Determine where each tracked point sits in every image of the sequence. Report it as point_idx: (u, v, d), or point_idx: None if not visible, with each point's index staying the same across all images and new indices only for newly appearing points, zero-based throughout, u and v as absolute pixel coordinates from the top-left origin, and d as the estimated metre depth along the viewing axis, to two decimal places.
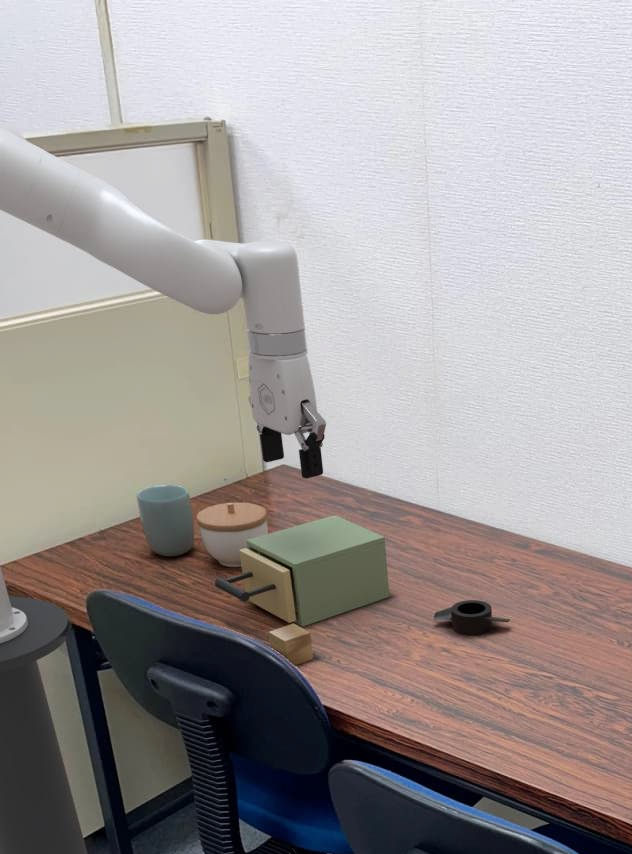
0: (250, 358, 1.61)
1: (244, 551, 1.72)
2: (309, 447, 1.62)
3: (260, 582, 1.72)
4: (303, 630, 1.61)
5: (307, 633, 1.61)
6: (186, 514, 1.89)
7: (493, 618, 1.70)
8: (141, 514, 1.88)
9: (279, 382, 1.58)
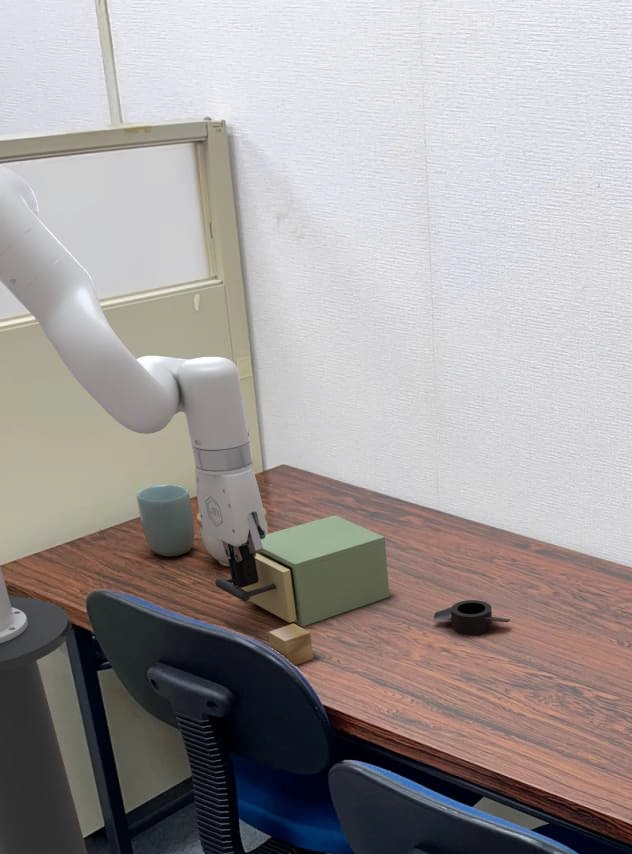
0: (196, 471, 1.61)
1: None
2: (242, 558, 1.65)
3: (260, 581, 1.72)
4: (303, 630, 1.61)
5: (307, 633, 1.61)
6: (186, 514, 1.89)
7: (493, 618, 1.70)
8: (141, 514, 1.88)
9: (225, 496, 1.57)
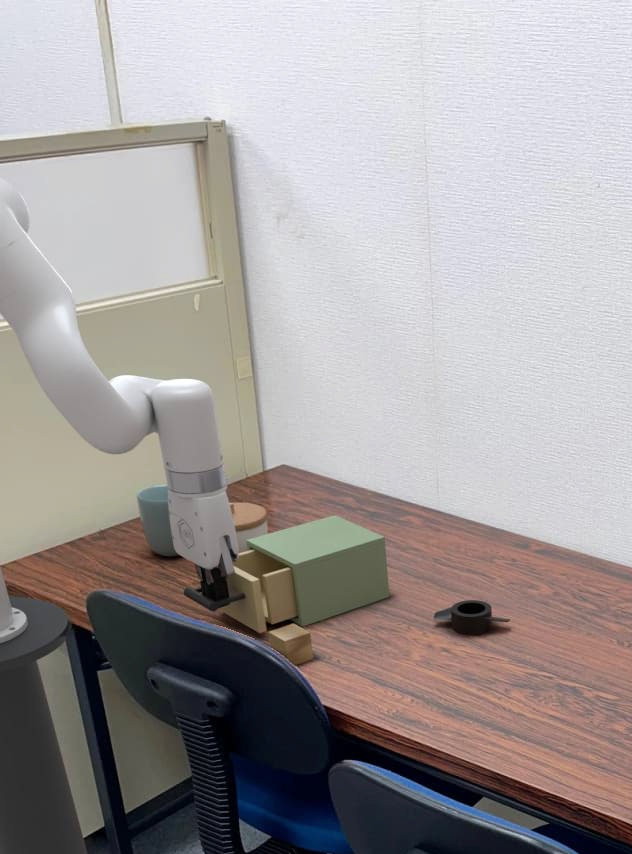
0: (169, 492, 1.59)
1: None
2: (214, 581, 1.63)
3: (230, 591, 1.69)
4: (303, 630, 1.61)
5: (307, 633, 1.61)
6: None
7: (493, 618, 1.70)
8: (141, 514, 1.88)
9: (197, 519, 1.56)
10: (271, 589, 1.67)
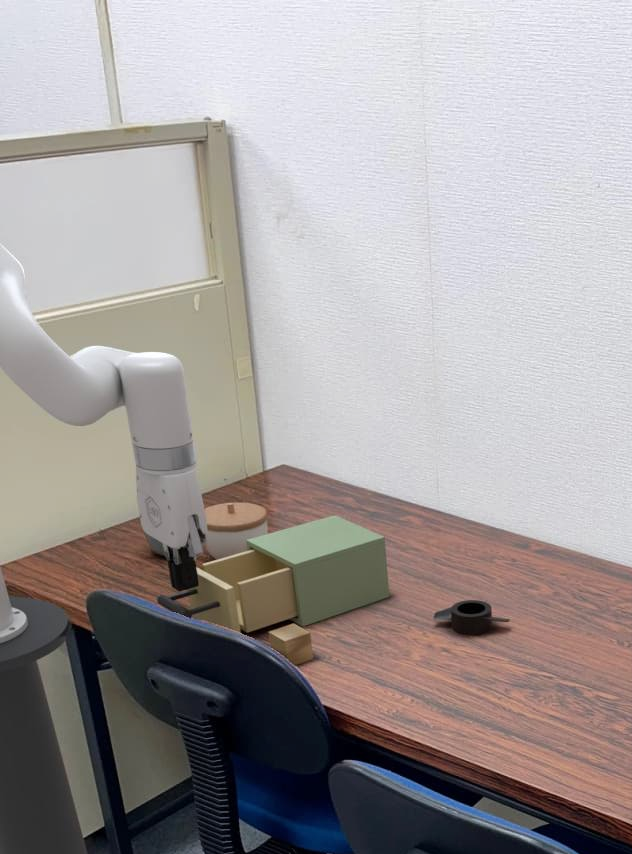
0: (137, 469, 1.55)
1: None
2: (182, 561, 1.59)
3: (205, 599, 1.66)
4: (303, 630, 1.61)
5: (307, 633, 1.61)
6: None
7: (493, 618, 1.70)
8: None
9: (165, 497, 1.52)
10: (246, 597, 1.64)
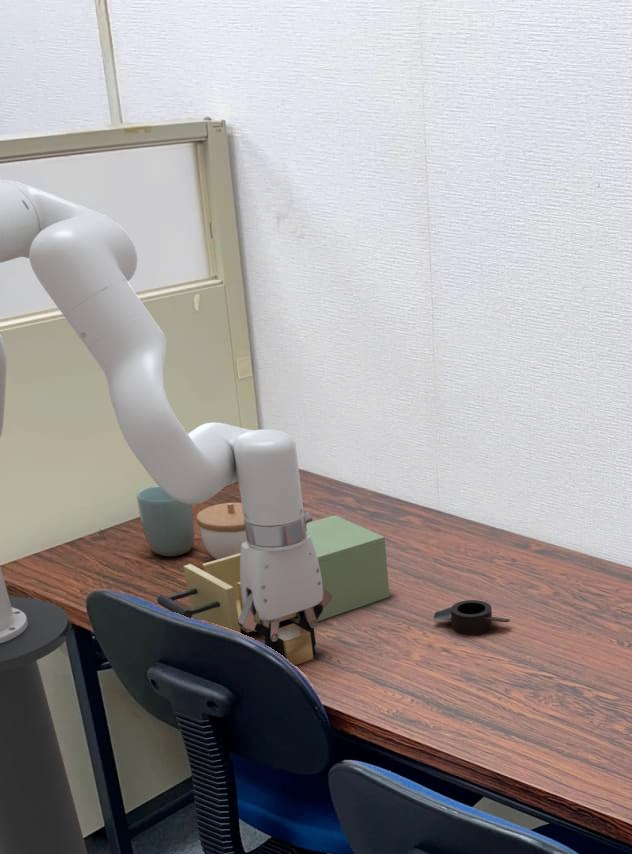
0: None
1: (188, 567, 1.67)
2: None
3: (205, 599, 1.66)
4: (303, 630, 1.61)
5: (307, 633, 1.61)
6: (186, 514, 1.89)
7: (493, 618, 1.70)
8: (141, 514, 1.88)
9: None
10: None
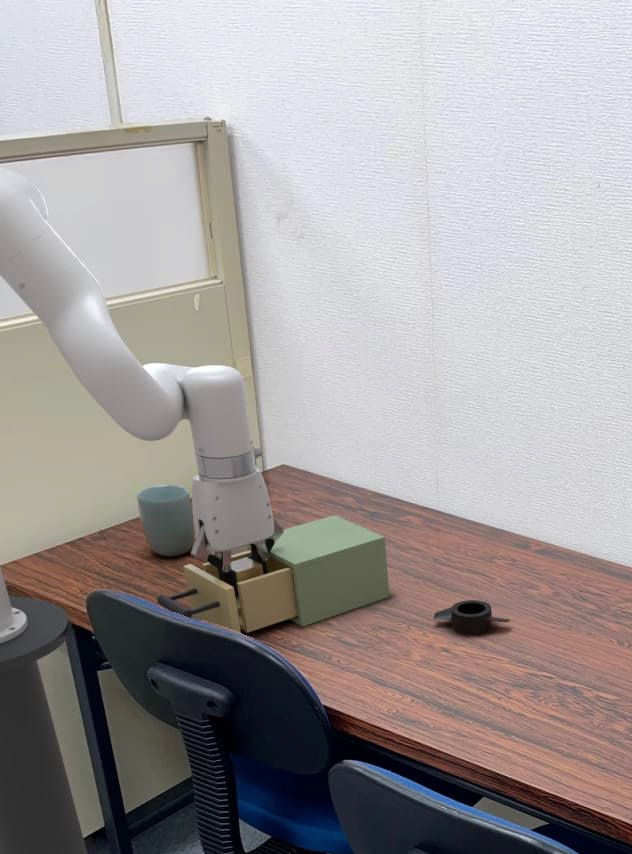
0: None
1: (188, 567, 1.67)
2: (214, 565, 1.65)
3: (205, 599, 1.66)
4: (255, 563, 1.68)
5: (259, 565, 1.67)
6: (186, 514, 1.89)
7: (493, 618, 1.70)
8: (141, 514, 1.88)
9: None
10: (246, 597, 1.64)
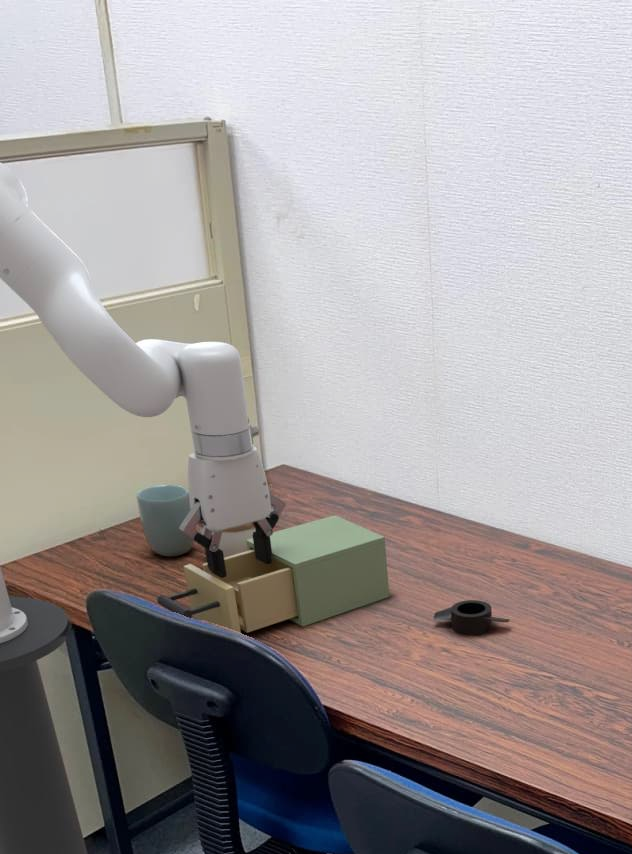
0: None
1: (188, 567, 1.67)
2: (202, 545, 1.63)
3: (205, 599, 1.66)
4: None
5: None
6: (186, 514, 1.89)
7: (493, 618, 1.70)
8: (141, 514, 1.88)
9: None
10: (246, 597, 1.64)
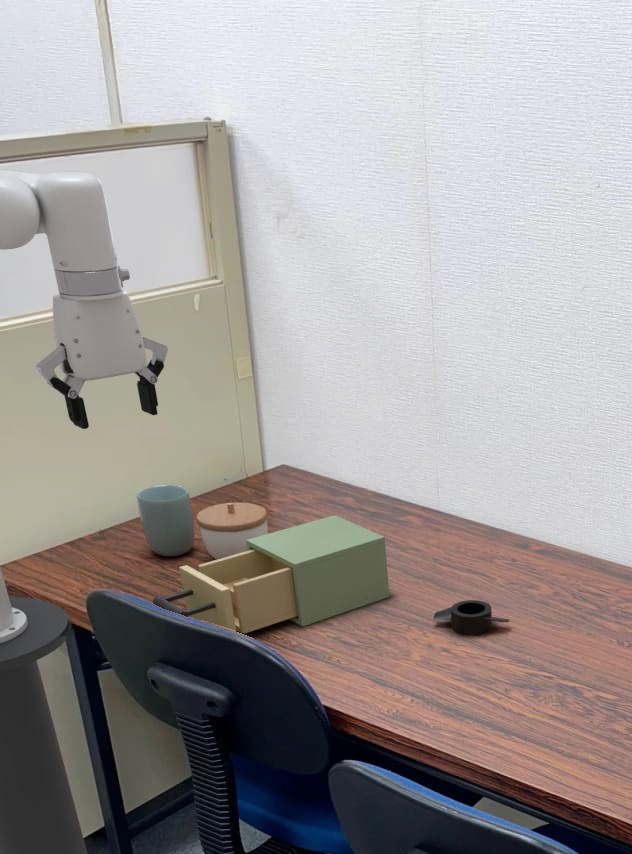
0: None
1: (184, 568, 1.66)
2: (61, 392, 1.53)
3: (200, 600, 1.66)
4: None
5: None
6: (186, 514, 1.89)
7: (493, 618, 1.70)
8: (141, 514, 1.88)
9: None
10: (242, 599, 1.64)
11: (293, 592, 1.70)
